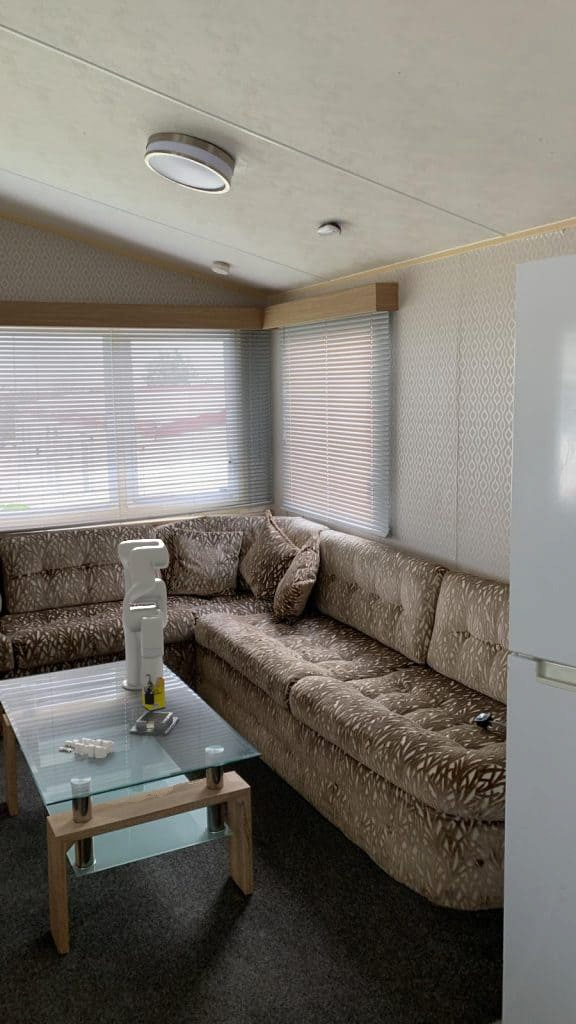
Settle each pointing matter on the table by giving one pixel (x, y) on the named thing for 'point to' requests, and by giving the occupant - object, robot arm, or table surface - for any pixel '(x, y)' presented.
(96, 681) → the table surface
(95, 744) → the modular blocks
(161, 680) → the supplement box
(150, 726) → the grey square tray
